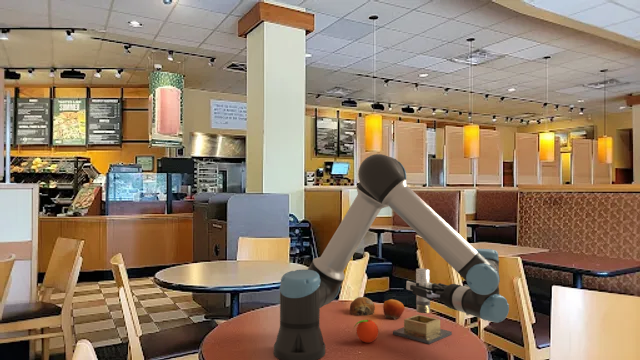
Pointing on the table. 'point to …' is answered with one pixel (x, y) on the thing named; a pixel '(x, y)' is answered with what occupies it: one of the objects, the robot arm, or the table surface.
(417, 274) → the silver metal tall cylinder
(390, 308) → the fruit
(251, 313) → the table surface
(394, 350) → the table surface
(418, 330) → the gold square holder
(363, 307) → the bread roll
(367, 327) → the clementine
